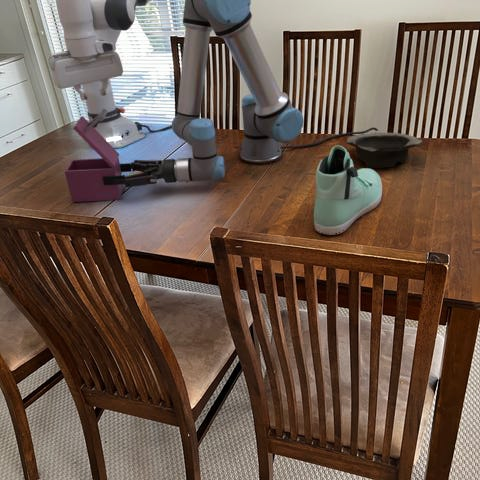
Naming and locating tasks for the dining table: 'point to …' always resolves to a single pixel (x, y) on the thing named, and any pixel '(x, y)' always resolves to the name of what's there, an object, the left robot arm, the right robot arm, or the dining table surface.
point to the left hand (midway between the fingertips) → (94, 97)
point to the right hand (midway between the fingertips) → (107, 174)
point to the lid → (96, 138)
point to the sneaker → (343, 192)
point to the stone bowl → (382, 148)
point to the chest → (92, 180)
